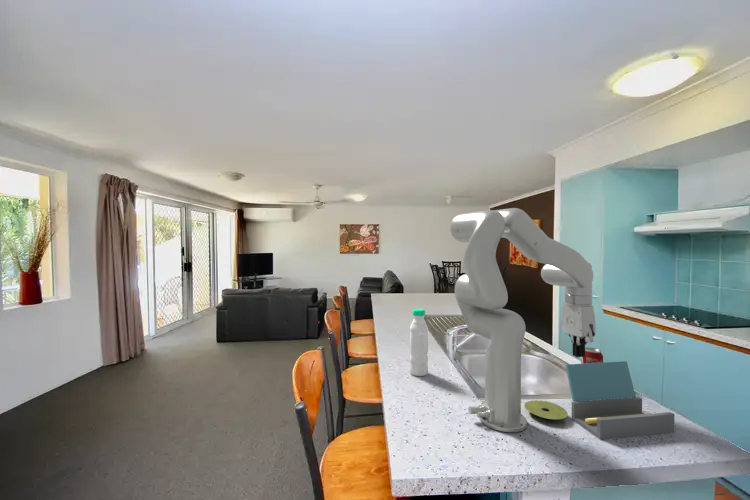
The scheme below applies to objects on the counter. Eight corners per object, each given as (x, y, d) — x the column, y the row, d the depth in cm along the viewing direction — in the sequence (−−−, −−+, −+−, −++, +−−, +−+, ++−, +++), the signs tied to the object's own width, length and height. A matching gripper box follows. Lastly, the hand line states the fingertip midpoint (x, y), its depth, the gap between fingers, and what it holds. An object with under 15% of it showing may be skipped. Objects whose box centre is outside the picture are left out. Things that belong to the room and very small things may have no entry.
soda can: (606, 387, 115) (606, 353, 115) (585, 385, 116) (585, 351, 116) (597, 379, 122) (597, 347, 122) (577, 378, 123) (577, 346, 123)
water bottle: (430, 372, 128) (431, 308, 128) (423, 378, 123) (423, 311, 122) (414, 368, 132) (414, 306, 132) (406, 374, 126) (406, 309, 126)
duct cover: (567, 364, 97) (565, 364, 97) (574, 401, 94) (572, 401, 95) (626, 361, 100) (624, 361, 100) (635, 397, 97) (633, 396, 97)
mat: (516, 406, 101) (516, 400, 101) (551, 405, 102) (551, 398, 102) (538, 427, 90) (538, 419, 90) (577, 424, 91) (577, 417, 91)
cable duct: (600, 439, 84) (600, 420, 84) (571, 419, 94) (571, 401, 94) (674, 432, 87) (674, 414, 87) (638, 413, 97) (638, 396, 97)
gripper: (552, 296, 113) (552, 349, 113) (585, 304, 98) (586, 365, 98) (571, 295, 114) (572, 348, 114) (608, 303, 99) (608, 363, 99)
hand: (578, 356), depth 106 cm, fingers closed
